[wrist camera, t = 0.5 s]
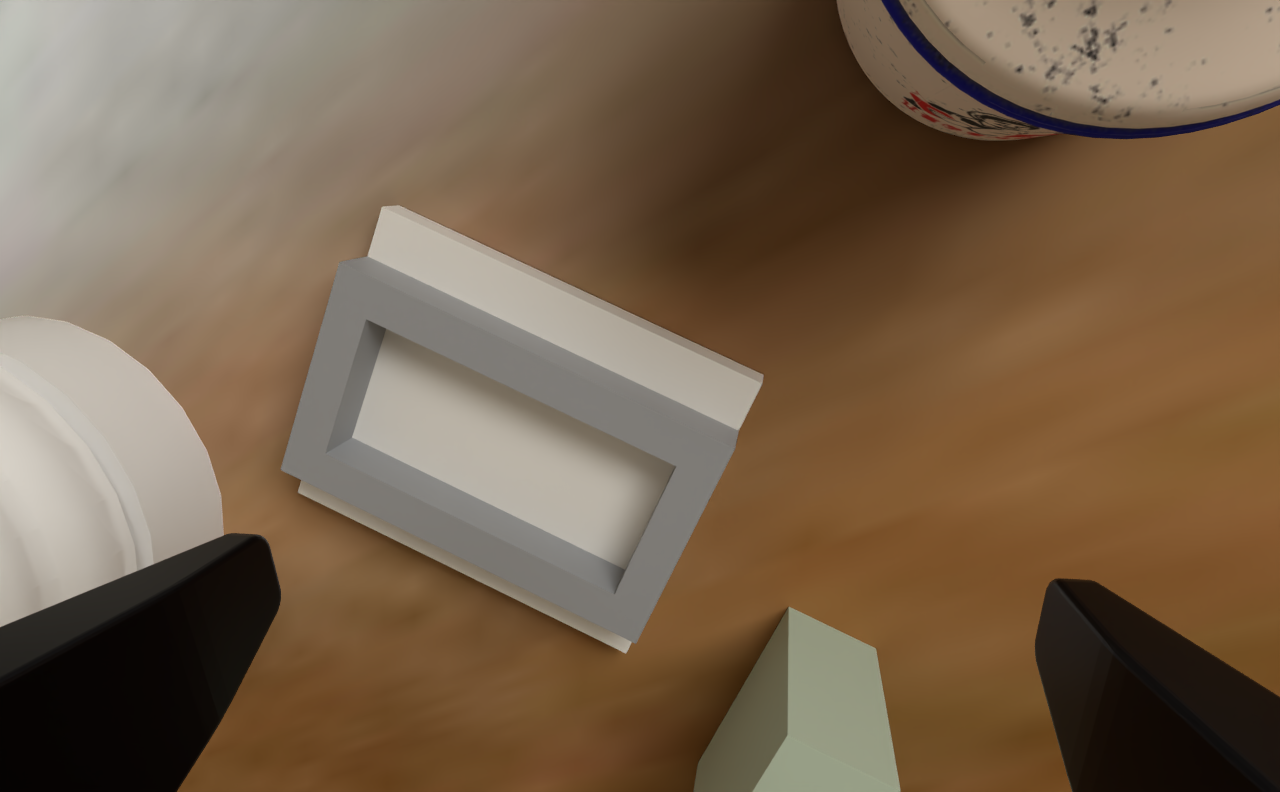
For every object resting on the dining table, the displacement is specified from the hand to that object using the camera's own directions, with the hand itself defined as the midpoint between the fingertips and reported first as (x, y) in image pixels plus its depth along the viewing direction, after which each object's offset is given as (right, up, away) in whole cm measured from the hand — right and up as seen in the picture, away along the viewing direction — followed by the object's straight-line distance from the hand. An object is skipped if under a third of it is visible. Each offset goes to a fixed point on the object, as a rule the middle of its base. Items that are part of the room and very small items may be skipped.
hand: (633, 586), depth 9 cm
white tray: (-4, +1, +16) cm, 16 cm away
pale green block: (+5, -8, +17) cm, 19 cm away
